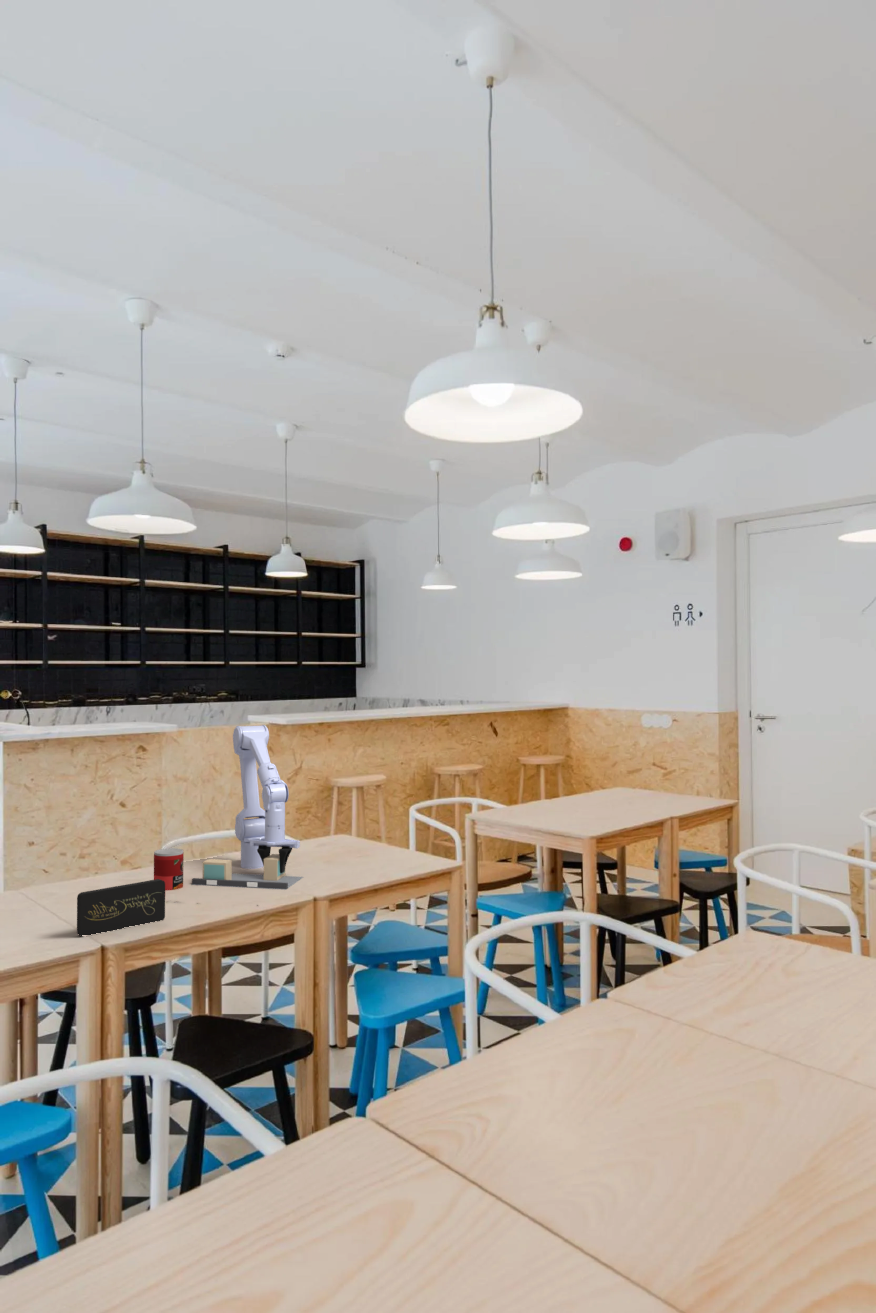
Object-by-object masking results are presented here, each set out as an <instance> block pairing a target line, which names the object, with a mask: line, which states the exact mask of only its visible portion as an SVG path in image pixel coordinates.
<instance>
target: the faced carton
mask: <svg viewBox="0 0 876 1313" xmlns="http://www.w3.org/2000/svg"><path fill="white" fill-rule="evenodd" d="M232 866H233V861H232V859H217V858H216V859H214V858H213V859H211V858H208V859H206V860H204V861H203V862H202V878H201V879H222V880H232V873H233V872H232V870H233V868H232Z"/></svg>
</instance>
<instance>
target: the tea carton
mask: <svg viewBox="0 0 876 1313" xmlns="http://www.w3.org/2000/svg"><path fill="white" fill-rule="evenodd" d="M263 875H264V880H274V881H277V880H279V879H280V878H282V877H283V876H286V871H285V872H283V873H280V856H279V853H275V854H274V853H271V854H270V856H268V857H266V858H265V859H264V867H263Z"/></svg>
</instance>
